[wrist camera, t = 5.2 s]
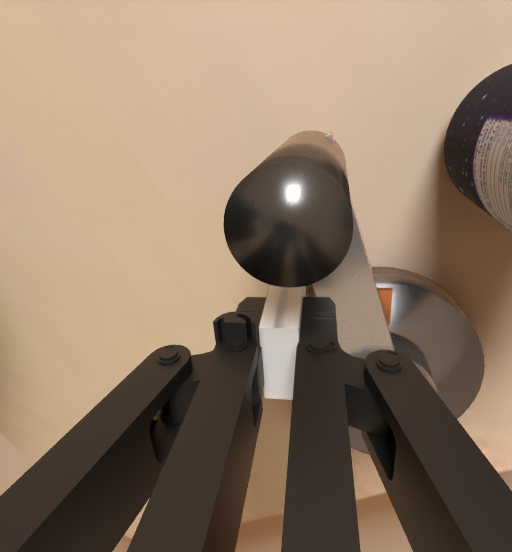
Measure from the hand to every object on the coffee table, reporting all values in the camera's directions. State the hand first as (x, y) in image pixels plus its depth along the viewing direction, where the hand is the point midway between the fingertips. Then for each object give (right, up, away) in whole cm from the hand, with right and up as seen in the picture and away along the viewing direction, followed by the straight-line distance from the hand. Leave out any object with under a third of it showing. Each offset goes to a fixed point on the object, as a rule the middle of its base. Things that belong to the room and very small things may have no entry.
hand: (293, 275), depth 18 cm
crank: (+3, -1, +1) cm, 3 cm away
